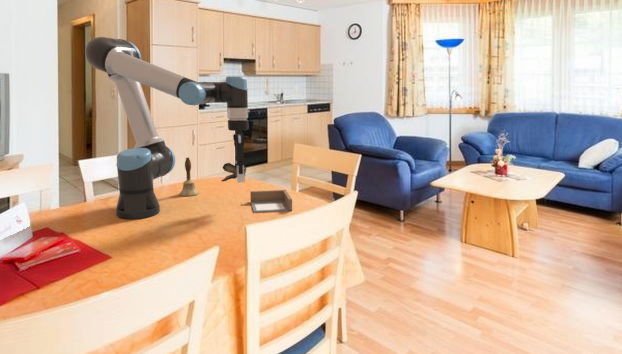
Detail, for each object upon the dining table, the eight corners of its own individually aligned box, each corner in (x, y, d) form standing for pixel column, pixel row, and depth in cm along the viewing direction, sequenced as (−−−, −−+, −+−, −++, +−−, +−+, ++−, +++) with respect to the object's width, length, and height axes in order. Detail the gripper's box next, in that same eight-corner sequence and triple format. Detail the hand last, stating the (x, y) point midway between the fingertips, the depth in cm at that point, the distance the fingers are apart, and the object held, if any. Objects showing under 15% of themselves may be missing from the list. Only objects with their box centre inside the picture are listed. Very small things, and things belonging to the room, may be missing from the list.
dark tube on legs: (245, 174, 170) (222, 170, 168) (247, 161, 165) (223, 157, 164) (243, 188, 165) (219, 184, 163) (245, 175, 160) (221, 171, 158)
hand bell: (178, 192, 190) (176, 156, 187) (197, 190, 194) (195, 155, 190) (181, 197, 183) (178, 160, 180) (200, 195, 186) (199, 158, 183)
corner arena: (254, 212, 163) (253, 201, 162) (250, 201, 177) (250, 191, 176) (292, 210, 166) (292, 199, 165) (285, 200, 180) (285, 189, 179)
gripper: (250, 121, 151) (252, 185, 156) (246, 116, 170) (248, 174, 175) (228, 121, 150) (231, 186, 155) (227, 117, 169) (229, 175, 174)
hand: (240, 179), depth 165 cm, fingers closed on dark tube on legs, 7 cm apart
